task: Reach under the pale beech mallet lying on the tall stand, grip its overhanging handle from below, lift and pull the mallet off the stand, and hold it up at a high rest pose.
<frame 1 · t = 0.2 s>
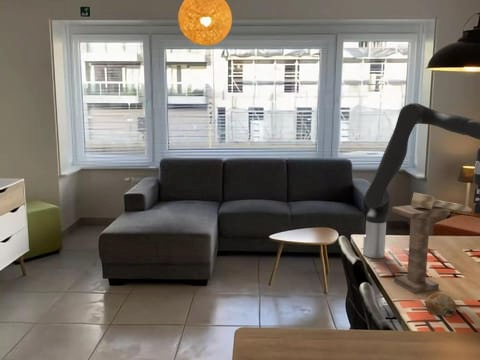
stand: (415, 285, 192), on the table
bread roll: (439, 310, 169), on the table
mallet: (421, 206, 186), point 33 cm above the table, tilted 12°, touching stand
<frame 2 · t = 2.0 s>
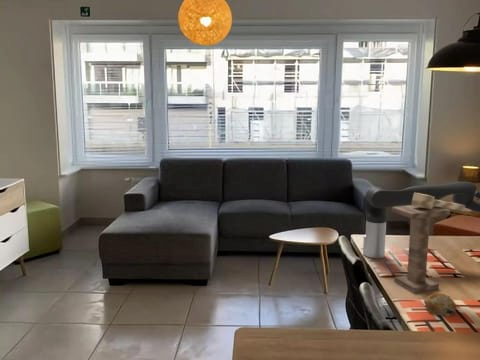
nothing on the table moved.
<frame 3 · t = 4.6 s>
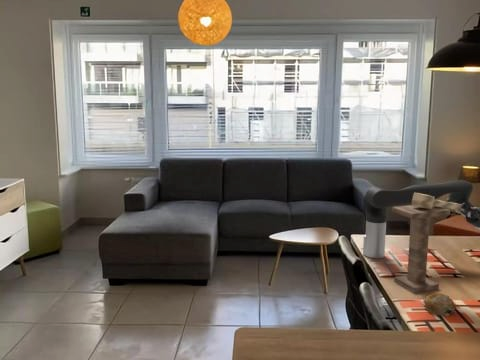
hand: (454, 203, 191), 33 cm above the table, tool pointing upward, fingers open, 8 cm apart
nothing on the table moved.
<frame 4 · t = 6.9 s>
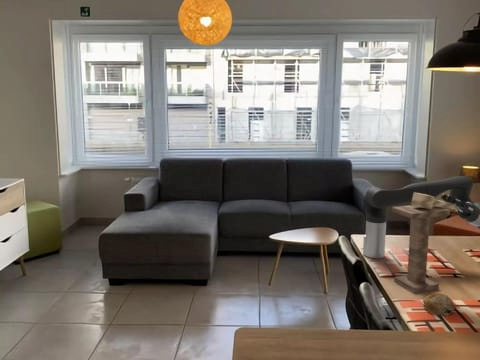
hand: (445, 196, 189), 36 cm above the table, tool pointing upward, fingers closed on mallet, 2 cm apart
mallet: (421, 206, 186), point 33 cm above the table, tilted 13°, touching gripper, stand
everything else where it was.
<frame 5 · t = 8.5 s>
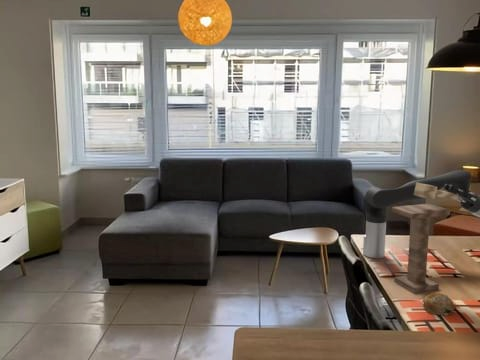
hand: (447, 186, 189), 40 cm above the table, tool pointing upward, fingers closed on mallet, 2 cm apart
mallet: (423, 197, 186), point 37 cm above the table, tilted 12°, touching gripper
everything else where it was.
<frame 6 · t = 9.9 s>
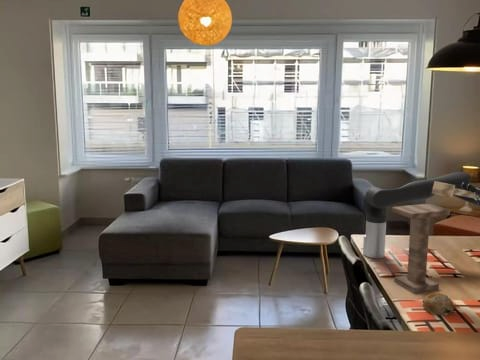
hand: (465, 185, 191), 40 cm above the table, tool pointing upward, fingers closed on mallet, 2 cm apart
mallet: (441, 195, 188), point 37 cm above the table, tilted 12°, touching gripper
everything else where it was.
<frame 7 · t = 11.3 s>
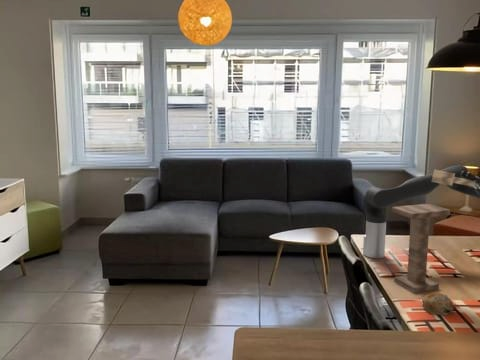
hand: (464, 173, 192), 44 cm above the table, tool pointing upward, fingers closed on mallet, 2 cm apart
mallet: (441, 183, 189), point 41 cm above the table, tilted 12°, touching gripper
everything else where it was.
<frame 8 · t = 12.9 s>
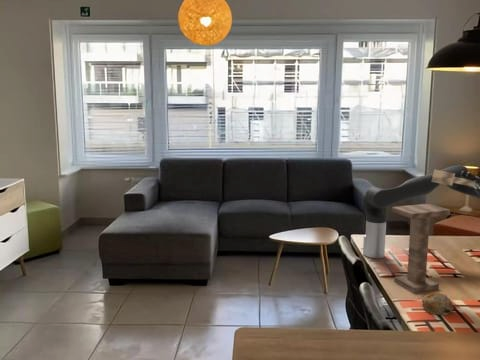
hand: (464, 173, 192), 44 cm above the table, tool pointing upward, fingers closed on mallet, 2 cm apart
mallet: (441, 183, 189), point 41 cm above the table, tilted 12°, touching gripper
at the end: the gripper is holding mallet; mallet touching gripper; mallet point 41.0 cm above the table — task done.
